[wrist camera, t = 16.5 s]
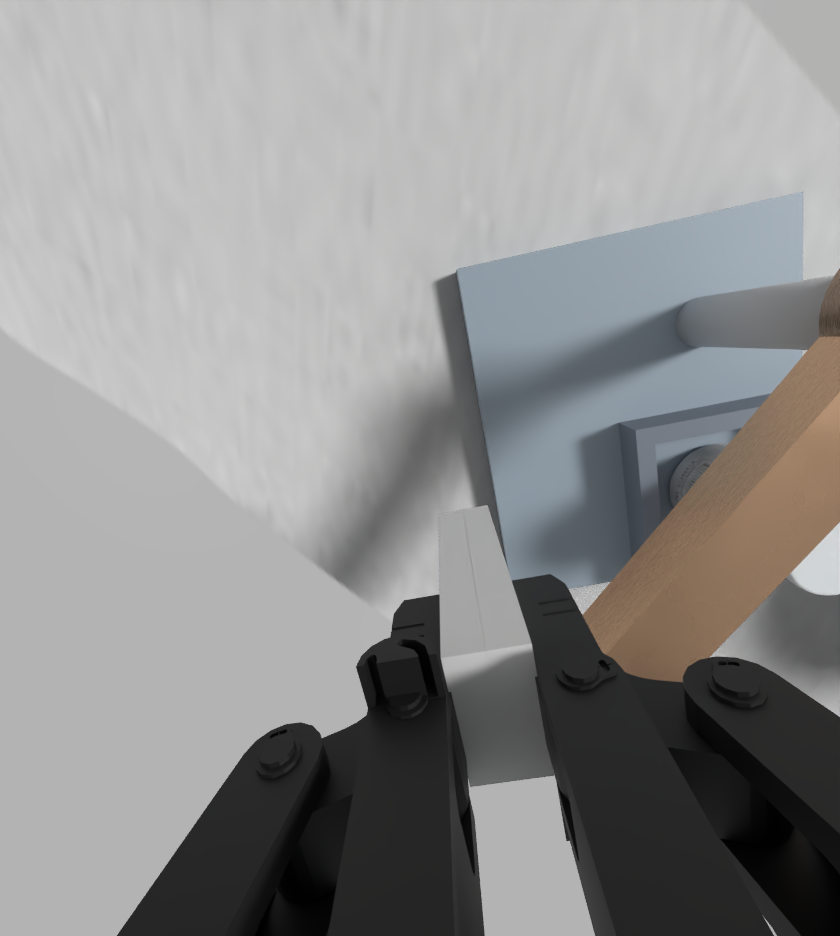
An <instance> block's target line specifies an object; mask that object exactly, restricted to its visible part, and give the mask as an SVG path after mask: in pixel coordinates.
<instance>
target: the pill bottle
mask: <svg viewBox="0 0 840 936" xmlns="http://www.w3.org/2000/svg"><path fill="white" fill-rule="evenodd" d="M727 445H728V444H723V443H719V444H712V445H707V446H704V447H702V448H699V449H698V450H696V451H694V452H692V453H690V454H689V455H688V456H687V457H686V458H684V459H683V460H682V462H681V463H680V464H679V465H678V467H677V468H676V470H675V471H674V473H673V476H672V478H671V482H670V500H671V503H672V506H673V508H674V507H675V506H676V505H677V504H678V502H679V501H680V500H681V499H682V498H683V497H684V495H685V494H686V493H687V492H688V491H689V489H690V488H691V487H692V486H693V485H694V484H695V482H696V481H697V480H698V479H699V478H700V477H701V475H702V474H703V473H704V472H705V471H706V469H707V468H708V467H709V466H710V465H711V464H712V462H713V461H714V460H715V459H716V458H717V457H718V455H719V454H720V453H721V452H722V451H723V449H724V448H725V447H726V446H727ZM786 579H787V580H789V581H790V582H792V583H793V584H795V585H796V586H798V587H800V588H801V589H803V590H805V591H807V592H810V593H813V594H817V595H838V594H840V523H839V524H838V525H837V526H836V527H835V528H834V529H833V530H832V531H831V532H830V533H829V534H828V535H827V536H826V537H825V538H824V539H823V540H822V541H821V542H820V543H819V544H818V545H817V546H816V547H815V548H814V549H813V550H812V551H811V553H810V554H809V555H808V556H807V557H806V558H805V559H804V560H803V561H802V562H801V563H800V564H799V565H798V566H797V567H796V568H795V569H794V570H793V571H792V572H791V573H790V574H789V575H788V576H787V577H786Z"/></svg>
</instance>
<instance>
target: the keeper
mask: <svg viewBox="0 0 840 936" xmlns="http://www.w3.org/2000/svg"><path fill="white" fill-rule="evenodd" d="M839 523H840V269H839V270H838V272H837V273H836V274H835V276H834V278H833V280H832V281H831V283H830V285H829V287H828V289H827V291H826V293H825V296H824V299H823V302H822V305H821V310H820V315H819V338H818V339H817V340H816V341H815V342H814V344H813V345H812V346H811V347H810V348H809V349H808V351H807V352H806V353H805V354H804V355H803V357H802V358H801V359H800V360H799V361H798V362H797V364H796V365H795V366H794V367H793V368H792V369H791V371H790V372H789V373H788V374H787V375H786V377H785V378H784V379H783V380H782V381H781V382H780V384H779V385H778V386H777V387H776V388H775V389H774V391H773V392H772V393H771V394H770V395H769V397H768V398H767V399H766V400H765V401H764V402H763V404H762V405H761V406H760V407H759V408H758V409H757V411H756V412H755V413H754V414H753V415H752V417H751V418H750V419H749V420H748V421H747V422H746V424H745V425H744V426H743V427H742V428H741V429H740V431H739V432H738V433H737V434H736V435H735V437H734V438H733V439H732V440H731V441H730V442H729V444H728V445H727V446H726V447H725V448H724V449H723V451H722V452H721V453H720V454H719V455H718V457H717V458H716V459H715V460H714V461H713V462H712V464H711V465H710V466H709V467H708V468H707V469H706V471H705V472H704V473H703V474H702V475H701V477H700V478H699V479H698V480H697V481H696V482H695V484H694V485H693V486H692V487H691V488H690V489H689V491H688V492H687V493H686V494H685V495H684V497H683V498H682V499H681V500H680V501H679V502H678V504H677V505H676V506H675V507H674V508H673V509H672V511H671V512H670V513H669V514H668V515H667V517H666V518H665V519H664V520H663V521H662V522H661V524H660V525H659V526H658V527H657V528H656V529H655V531H654V532H653V533H652V534H651V535H650V537H649V538H648V539H647V540H646V541H645V542H644V544H643V545H642V546H641V547H640V548H639V549H638V551H637V552H636V553H635V554H634V555H633V557H632V558H631V559H630V560H629V561H628V562H627V564H626V565H625V566H624V567H623V568H622V569H621V571H620V572H619V573H618V574H617V575H616V577H615V578H614V579H613V580H612V581H611V582H610V584H609V585H608V586H607V587H606V588H605V589H604V591H603V592H602V593H601V594H600V595H599V597H598V598H597V599H596V600H595V601H594V602H593V604H592V605H591V606H590V607H589V608H588V609H587V611H586V612H585V613H584V614H583V615H582V616H583V618H584V619H585V621H586V623H587V625H588V627H589V629H590V631H591V633H592V634H593V636H594V638H595V640H596V642H597V644H598V646H599V647H600V649H601V651H602V653H604V654H605V655H607V656H609V657H611V658H613V659H614V660H615V661H616V662H617V663H618V664H619V665H620V666H621V668H622V669H623V670H624V672H626V673H628V674H631V675H635V676H638V677H641V678H647V679H653V680H662V681H674V682H683V675H684V673H685V671H686V669H687V667H688V666H690V665H691V664H693V663H695V662H696V661H698V660H700V659H706V658H709V657H710V656H711V655H712V654H713V653H714V652H715V651H716V650H717V649H718V648H719V647H720V646H721V645H722V643H723V642H724V641H725V640H726V639H727V638H728V637H729V636H730V635H731V634H732V633H733V632H734V631H735V630H736V629H737V628H738V627H739V626H740V625H741V624H742V623H743V622H744V621H745V620H746V619H747V618H748V617H749V616H750V615H751V614H752V612H753V611H754V610H755V609H756V608H757V607H758V606H759V605H760V604H761V603H762V602H763V601H764V600H765V599H766V598H767V597H768V596H769V595H770V594H771V593H772V592H773V591H774V590H775V589H776V588H777V587H778V586H779V585H780V584H781V582H782V581H783V580H784V579H785V578H786V577H787V576H788V575H789V574H790V573H791V572H792V571H793V570H794V569H795V568H796V567H797V566H798V565H799V564H800V563H801V562H802V561H803V560H804V559H805V558H806V557H807V556H808V555H809V554H810V553H811V551H812V550H813V549H814V548H815V547H816V546H817V545H818V544H819V543H820V542H821V541H822V540H823V539H824V538H825V537H826V536H827V535H828V534H829V533H830V532H831V531H832V530H833V529H834V528H835V527H836V526H837V525H838V524H839Z"/></svg>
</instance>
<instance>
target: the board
mask: <svg viewBox="0 0 840 936" xmlns="http://www.w3.org/2000/svg"><path fill="white" fill-rule="evenodd" d="M456 275H457V281H458V287H459V293H460V298H461V304H462V310H463V316H464V322H465V328H466V333H467V339H468V345H469V351H470V357H471V362H472V368H473V374H474V380H475V386H476V391H477V397H478V403H479V409H480V415H481V420H482V426H483V432H484V438H485V444H486V450H487V455H488V461H489V467H490V473H491V479H492V484H493V490H494V496H495V502H496V508H497V513H498V519H499V525H500V531H501V537H502V543H503V548H504V554H505V560H506V565H507V568H508V571H509V574H510V577H511V580H518V579H523V578H529V577H535V576H541V575H547V574H551V575H553V576H554V577H556V578H557V579H559V580H561V581H562V582H564V583H565V584H566V586H567V588H568V589H569V588H575V587H581V586H587V585H593V584H599V583H605V582H611V581H612V580H613V579H614V578H615V577H616V575H617V574H618V573H619V572H620V571H621V569H622V568H623V567H624V566H625V565H626V564H627V562H628V561H629V560H630V559H631V558H632V557H633V555H634V554H635V553H636V552H637V551H638V549H639V548H640V547H641V546H642V545H643V544H644V542H645V541H646V540H647V539H648V538H649V537H650V535H651V534H652V533H653V532H654V531H655V529H656V528H657V527H658V526H659V525H660V524H661V522H662V521H663V520H664V519H665V518H666V517H667V515H668V514H669V513H670V512H671V511H672V509H673V506H672V503H671V500H670V482H671V478H672V476H673V473H674V471H675V470H676V468H677V467H678V465H679V464H680V463H681V462H682V460H683V459H684V458H686V457H687V456H688V455H689V454H690V453H692V452H694V451H696V450H698V449H699V448H702V447H704V446H707V445H712V444H719V443H723V444H729V442H730V441H731V440H732V439H733V438H734V437H735V435H736V434H737V433H738V432H739V431H740V429H741V428H742V427H743V426H744V425H745V424H746V422H747V421H748V420H749V419H750V418H751V417H752V415H753V414H754V413H755V412H756V411H757V409H758V408H759V407H760V406H761V405H762V404H763V402H764V401H765V400H766V399H767V398H768V397H769V395H770V394H771V393H772V392H773V391H774V389H775V388H776V387H777V386H778V385H779V384H780V382H781V381H782V380H783V379H784V378H785V377H786V375H787V374H788V373H789V372H790V371H791V369H792V368H793V367H794V366H795V365H796V364H797V362H798V361H799V360H800V359H801V358H802V350H808V349H809V348H810V347H811V346H812V345H813V344H814V342H815V341H816V340H817V339H818V338H819V315H820V310H821V305H822V302H823V299H824V296H825V293H826V291H827V289H828V287H829V285H830V283H831V281H832V280H833V278H834V276H835V275H834V276H828V277H822V278H815V279H809V280H803V192H799V193H795V194H790V195H786V196H781V197H777V198H772V199H768V200H764V201H759V202H755V203H750V204H746V205H741V206H737V207H732V208H728V209H723V210H719V211H714V212H710V213H705V214H701V215H697V216H692V217H688V218H683V219H679V220H674V221H670V222H665V223H661V224H656V225H652V226H647V227H643V228H638V229H634V230H630V231H625V232H621V233H616V234H612V235H607V236H603V237H598V238H594V239H589V240H585V241H580V242H576V243H571V244H567V245H563V246H558V247H554V248H549V249H545V250H540V251H536V252H531V253H527V254H522V255H518V256H513V257H509V258H504V259H500V260H495V261H491V262H487V263H482V264H478V265H473V266H469V267H464V268H460V269H457V271H456Z"/></svg>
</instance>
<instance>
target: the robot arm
mask: <svg viewBox="0 0 840 936" xmlns="http://www.w3.org/2000/svg"><path fill="white" fill-rule="evenodd" d="M438 542H439V595H434V596H428V597H422V598H416V599H410V600H404V601H403V603H402V604H401V605H400V607H399V608H398V609H397V611H396V612H395V613H394V617H393V624H392V632H391V637H390V638H388V639H384V640H382V641H380V642H379V643H377V644H375V645H373V646H371V647H370V648H369V649H368V650H367V651H366V652H365V653H364V654H363V655H362V656H361V658H360V660H359V662H358V664H357V666H356V668H357V671H358V675H359V678H360V681H361V685H362V688H363V692H364V695H365V699H366V702H367V706H368V712H367V715H366V716H365V717H364V718H362V719H361V720H360V721H358V722H357V723H355V724H353V725H351V726H349V727H347V728H346V729H343V730H341V731H338V732H336V733H334V734H331V735H329V736H327V737H324V738H321V735H320V733H319V732H318V731H317V730H316V729H315V728H314V727H313V726H312V725H308V724H304V723H293V724H286V725H283V726H281V727H278V728H276V729H274V730H271V731H270V732H268V733H267V734H265V735H264V736H262V737H261V738H260V739H258V740H257V741H256V742H255V743H254V744H253V745H252V746H251V747H250V748H249V749H248V751H247V752H246V753H245V754H244V755H243V756H242V758H241V759H240V761H239V762H238V764H237V765H236V766H235V768H234V770H233V771H232V772H231V774H230V775H229V777H228V778H227V779H226V781H225V782H224V784H223V785H222V787H221V788H220V789H219V791H218V792H217V794H216V795H215V796H214V798H213V799H212V801H211V802H210V804H209V805H208V806H207V808H206V809H205V811H204V812H203V814H202V815H201V817H200V818H199V819H198V821H197V822H196V824H195V825H194V827H193V828H192V830H191V831H190V832H189V834H188V835H187V837H186V838H185V839H184V841H183V842H182V844H181V845H180V846H179V848H178V849H177V851H176V852H175V854H174V855H173V856H172V858H171V859H170V861H169V862H168V864H167V865H166V866H165V868H164V869H163V871H162V872H161V874H160V875H159V877H158V878H157V879H156V881H155V882H154V884H153V885H152V886H151V888H150V889H149V891H148V892H147V894H146V895H145V896H144V898H143V899H142V901H141V902H140V904H139V905H138V906H137V908H136V910H135V911H134V912H133V914H132V915H131V916H130V918H129V919H128V921H127V922H126V924H125V925H124V926H123V928H122V929H121V931H120V932H119V934H118V935H117V936H484V925H483V912H482V900H481V889H480V878H479V866H478V854H477V842H476V831H475V819H474V814H473V810H472V806H471V801H470V797H469V789H468V788H469V787H468V779H469V783H470V787H472V786H480V785H487V784H494V783H502V782H509V781H516V780H523V779H531V778H539V777H546V776H553V775H554V774H555V778H556V781H557V787H558V793H559V799H560V805H561V811H562V816H563V822H564V828H565V834H566V839H567V841H570V843H571V846H572V850H573V854H574V858H575V861H576V865H577V869H578V873H579V876H580V880H581V884H582V888H583V891H584V895H585V899H586V902H587V906H588V910H589V914H590V917H591V921H592V925H593V929H594V932H595V936H774V935H773V933H772V931H771V930H770V928H769V926H768V924H767V923H766V921H765V919H766V920H767V921H768V922H769V924H770V925H771V926H772V928H773V929H774V931H775V933H776V935H777V936H840V717H839V716H837V715H836V714H834V713H833V712H831V711H830V710H828V709H827V708H825V707H824V706H823V705H821V704H820V703H818V702H817V701H815V700H814V699H812V698H811V697H809V696H808V695H806V694H805V693H803V692H802V691H801V690H799V689H798V688H796V687H795V686H793V685H792V684H790V683H789V682H787V681H786V680H784V679H783V678H781V677H780V676H779V675H777V674H776V673H774V672H772V671H770V670H768V669H766V668H764V667H762V666H760V665H758V664H756V663H753V662H749V661H746V660H742V659H738V658H731V657H711V658H706V659H700V660H698V661H696V662H695V663H693V664H691V665H690V666H688V667H687V669H686V671H685V673H684V675H683V682H674V681H662V680H653V679H647V678H641V677H638V676H635V675H631V674H628V673H626V672H624V670H623V669H622V668H621V666H620V665H619V664H618V663H617V662H616V661H615V660H614V659H613V658H611V657H609V656H607V655H605V654H604V653H602V651H601V649H600V647H599V646H598V644H597V642H596V640H595V638H594V636H593V634H592V633H591V631H590V629H589V627H588V625H587V623H586V621H585V619H584V618H583V616H582V614H581V612H580V610H579V609H578V606H577V605H576V603H575V601H574V599H573V598H572V595H571V593H570V591H569V590H568V588H567V586H566V584H565V583H564V582H562V581H561V580H559V579H557V578H556V577H554V576H553V575H551V574H547V575H541V576H535V577H529V578H523V579H518V580H511V577H510V574H509V571H508V568H507V565H506V561H505V558H504V555H503V552H502V549H501V546H500V543H499V540H498V536H497V533H496V530H495V527H494V524H493V521H492V518H491V515H490V511H489V508H488V505H485V506H480V507H474V508H469V509H463V510H458V511H453V512H447V513H442V514H438ZM553 770H554V771H553ZM762 915H763V916H764V917H763V916H762ZM764 918H765V919H764Z"/></svg>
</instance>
